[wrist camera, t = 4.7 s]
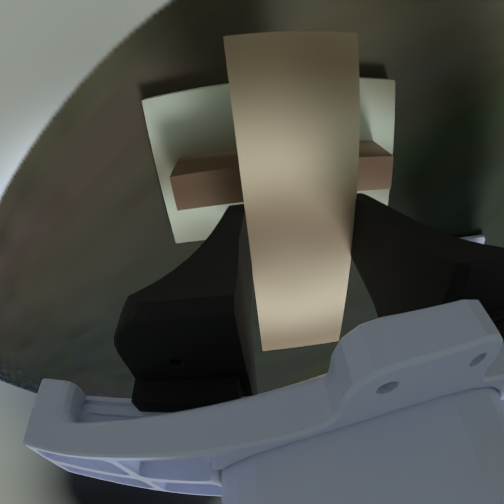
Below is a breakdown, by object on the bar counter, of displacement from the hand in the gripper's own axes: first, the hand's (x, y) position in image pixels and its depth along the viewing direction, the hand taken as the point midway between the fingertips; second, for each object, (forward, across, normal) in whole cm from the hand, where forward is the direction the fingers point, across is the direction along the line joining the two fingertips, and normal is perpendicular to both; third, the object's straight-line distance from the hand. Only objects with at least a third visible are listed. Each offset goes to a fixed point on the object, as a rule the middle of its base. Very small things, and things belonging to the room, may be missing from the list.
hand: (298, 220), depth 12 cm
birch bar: (+3, 0, 0) cm, 3 cm away
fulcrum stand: (+8, 0, 0) cm, 8 cm away
